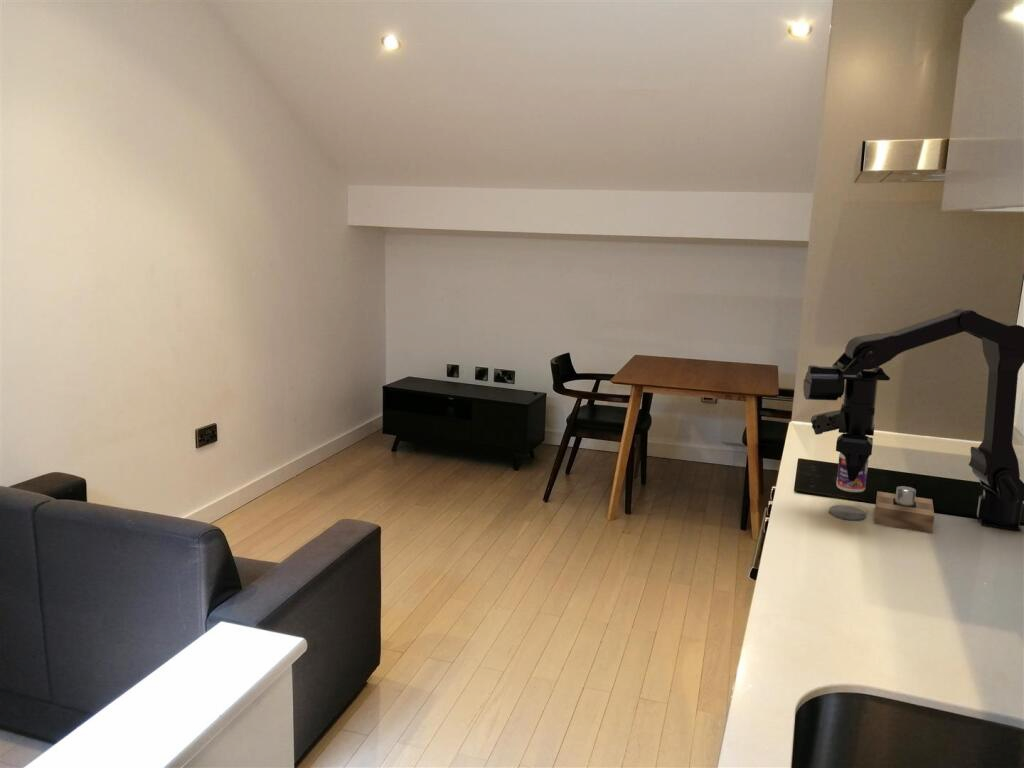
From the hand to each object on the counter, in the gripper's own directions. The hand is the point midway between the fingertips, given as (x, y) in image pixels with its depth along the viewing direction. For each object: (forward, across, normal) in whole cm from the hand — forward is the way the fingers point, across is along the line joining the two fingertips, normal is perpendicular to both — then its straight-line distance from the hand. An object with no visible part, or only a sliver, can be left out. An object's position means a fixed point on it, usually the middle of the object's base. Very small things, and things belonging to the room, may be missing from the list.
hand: (852, 476), depth 148 cm
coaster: (+8, 0, 0) cm, 8 cm away
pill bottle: (+3, 0, 0) cm, 3 cm away
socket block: (+8, -2, +10) cm, 13 cm away
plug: (+8, -2, +10) cm, 13 cm away
